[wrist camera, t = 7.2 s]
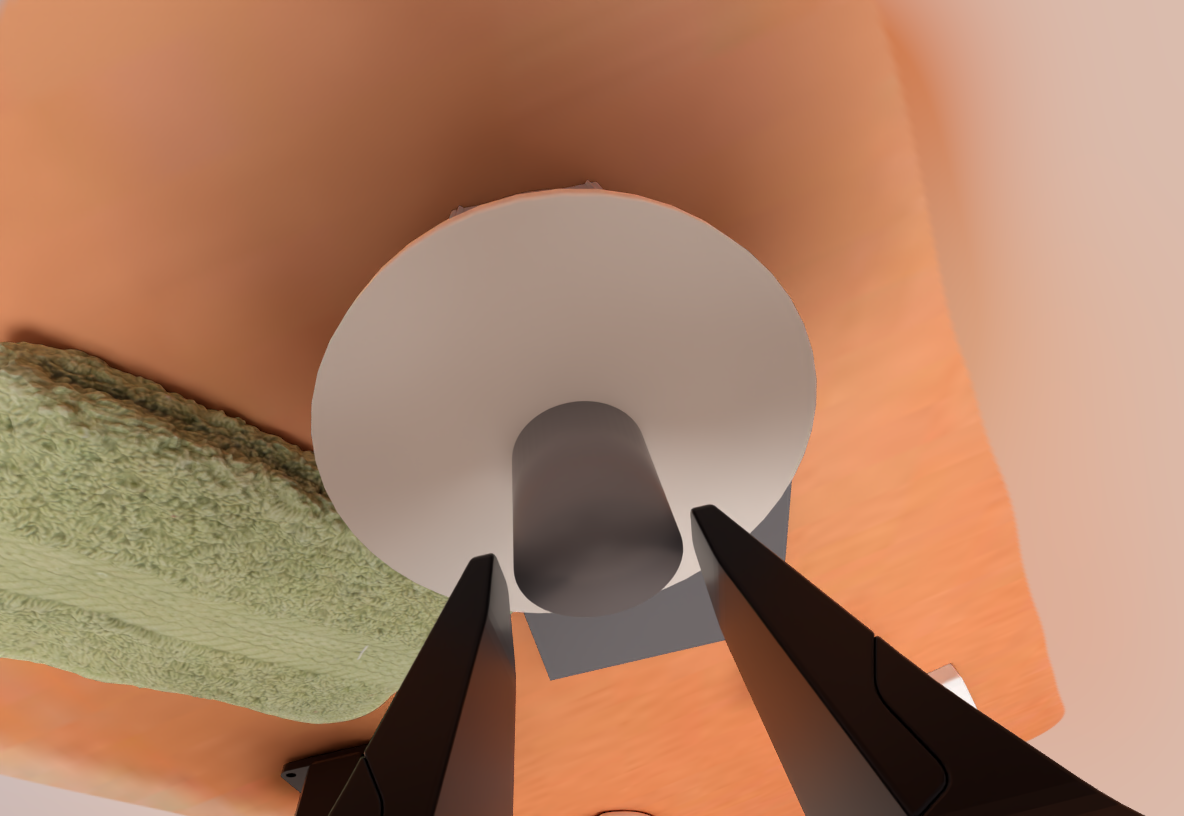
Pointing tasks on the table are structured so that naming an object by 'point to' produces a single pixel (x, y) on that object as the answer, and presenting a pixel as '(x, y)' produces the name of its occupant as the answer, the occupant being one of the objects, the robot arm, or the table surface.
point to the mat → (644, 619)
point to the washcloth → (186, 550)
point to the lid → (562, 398)
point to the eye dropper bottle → (623, 813)
